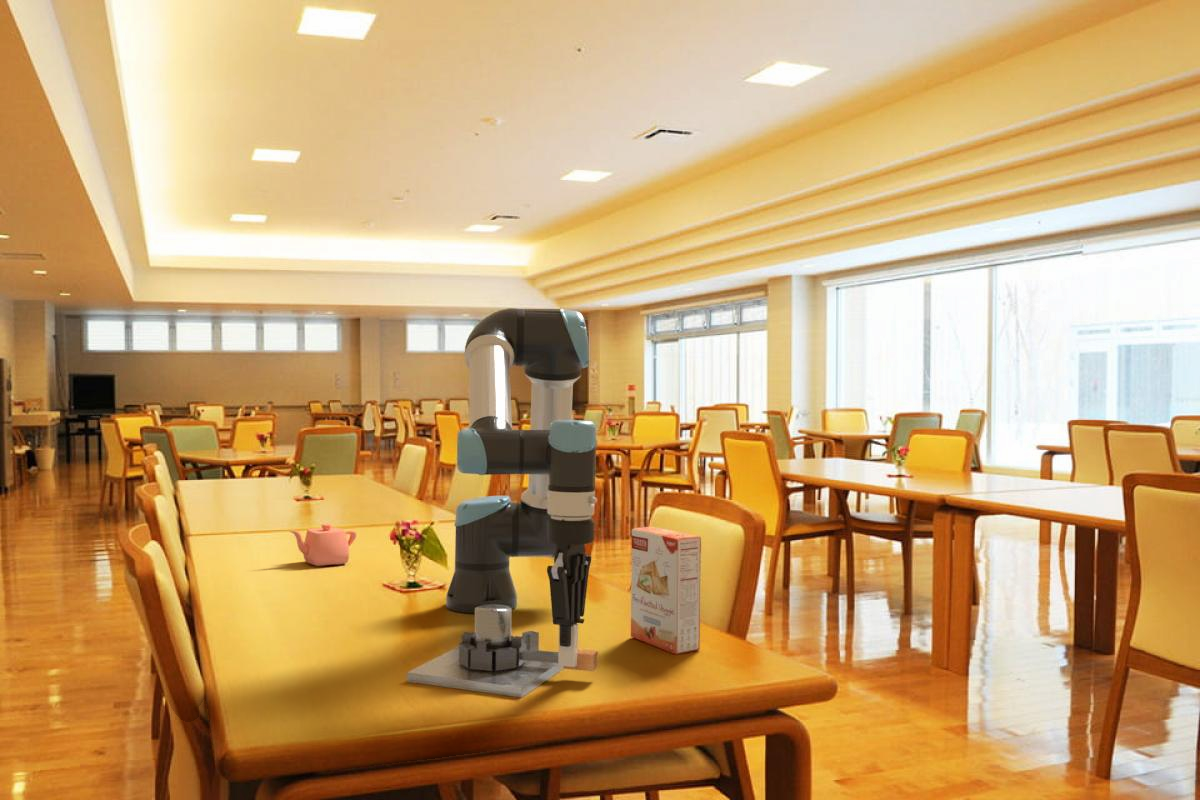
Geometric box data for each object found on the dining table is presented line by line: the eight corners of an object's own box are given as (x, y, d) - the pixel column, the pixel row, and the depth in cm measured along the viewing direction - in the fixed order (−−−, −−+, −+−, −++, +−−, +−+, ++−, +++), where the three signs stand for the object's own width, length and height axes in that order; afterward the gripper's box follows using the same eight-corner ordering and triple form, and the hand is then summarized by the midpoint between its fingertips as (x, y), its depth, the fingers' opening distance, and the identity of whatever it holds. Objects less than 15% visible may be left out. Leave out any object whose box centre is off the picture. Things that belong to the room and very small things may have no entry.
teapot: (363, 564, 252) (364, 524, 252) (295, 570, 242) (295, 529, 242) (348, 557, 262) (349, 519, 262) (282, 563, 252) (282, 524, 252)
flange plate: (407, 681, 152) (407, 615, 152) (467, 650, 171) (468, 591, 170) (521, 697, 145) (522, 628, 145) (571, 662, 164) (572, 601, 163)
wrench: (450, 667, 154) (451, 641, 154) (474, 650, 164) (475, 625, 164) (587, 679, 148) (587, 652, 148) (603, 661, 158) (603, 636, 158)
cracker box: (628, 638, 181) (630, 527, 180) (653, 634, 184) (655, 525, 184) (674, 655, 169) (676, 537, 169) (701, 651, 172) (702, 535, 172)
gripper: (577, 523, 145) (573, 679, 145) (607, 514, 157) (604, 657, 157) (532, 520, 148) (528, 672, 148) (565, 511, 160) (562, 652, 160)
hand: (567, 664), depth 152 cm, fingers closed
